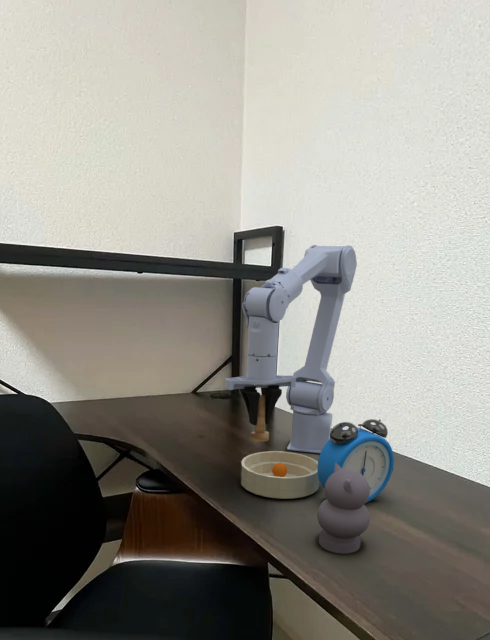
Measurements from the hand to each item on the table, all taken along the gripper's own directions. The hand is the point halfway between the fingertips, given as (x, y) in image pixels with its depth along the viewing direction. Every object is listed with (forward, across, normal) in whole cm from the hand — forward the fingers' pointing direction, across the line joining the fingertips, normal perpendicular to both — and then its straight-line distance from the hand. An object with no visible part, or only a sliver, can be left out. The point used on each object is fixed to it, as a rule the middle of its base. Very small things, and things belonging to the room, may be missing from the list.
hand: (259, 423), depth 105 cm
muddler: (+3, 0, +1) cm, 3 cm away
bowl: (+10, 0, +10) cm, 14 cm away
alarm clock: (+10, -10, +21) cm, 25 cm away
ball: (+8, -2, +7) cm, 11 cm away
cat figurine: (+10, +2, +35) cm, 36 cm away
